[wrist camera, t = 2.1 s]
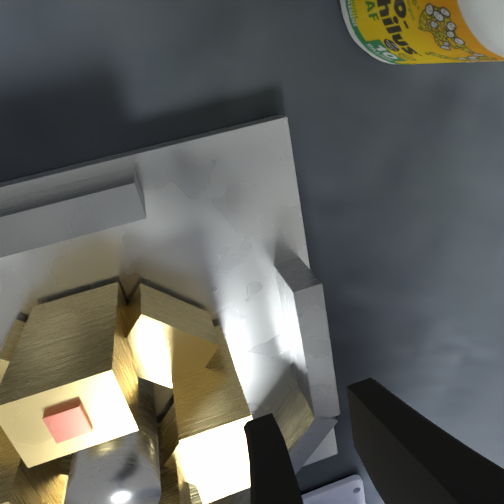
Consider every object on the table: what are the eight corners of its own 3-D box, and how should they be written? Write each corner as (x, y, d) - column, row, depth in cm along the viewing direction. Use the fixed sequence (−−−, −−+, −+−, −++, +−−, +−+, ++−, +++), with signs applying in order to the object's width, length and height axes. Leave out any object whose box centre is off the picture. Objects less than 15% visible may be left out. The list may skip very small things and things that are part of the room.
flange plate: (330, 439, 25) (390, 553, 19) (0, 563, 22) (-48, 740, 16) (278, 114, 17) (357, 138, 11) (-259, 245, 14) (-545, 374, 8)
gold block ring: (249, 429, 21) (285, 540, 16) (48, 502, 20) (19, 647, 15) (201, 257, 17) (230, 336, 12) (-62, 333, 15) (-155, 459, 10)
